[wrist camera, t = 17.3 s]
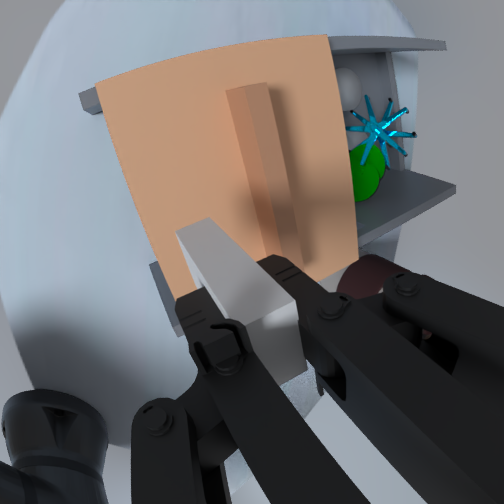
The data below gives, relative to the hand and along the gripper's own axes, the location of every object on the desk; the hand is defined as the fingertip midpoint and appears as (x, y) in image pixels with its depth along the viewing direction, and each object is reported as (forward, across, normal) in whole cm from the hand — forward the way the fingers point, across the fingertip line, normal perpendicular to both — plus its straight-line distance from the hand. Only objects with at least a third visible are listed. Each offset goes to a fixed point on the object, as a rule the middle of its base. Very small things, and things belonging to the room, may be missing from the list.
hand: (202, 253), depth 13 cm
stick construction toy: (+15, +22, -4) cm, 27 cm away
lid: (+6, +5, 0) cm, 8 cm away
